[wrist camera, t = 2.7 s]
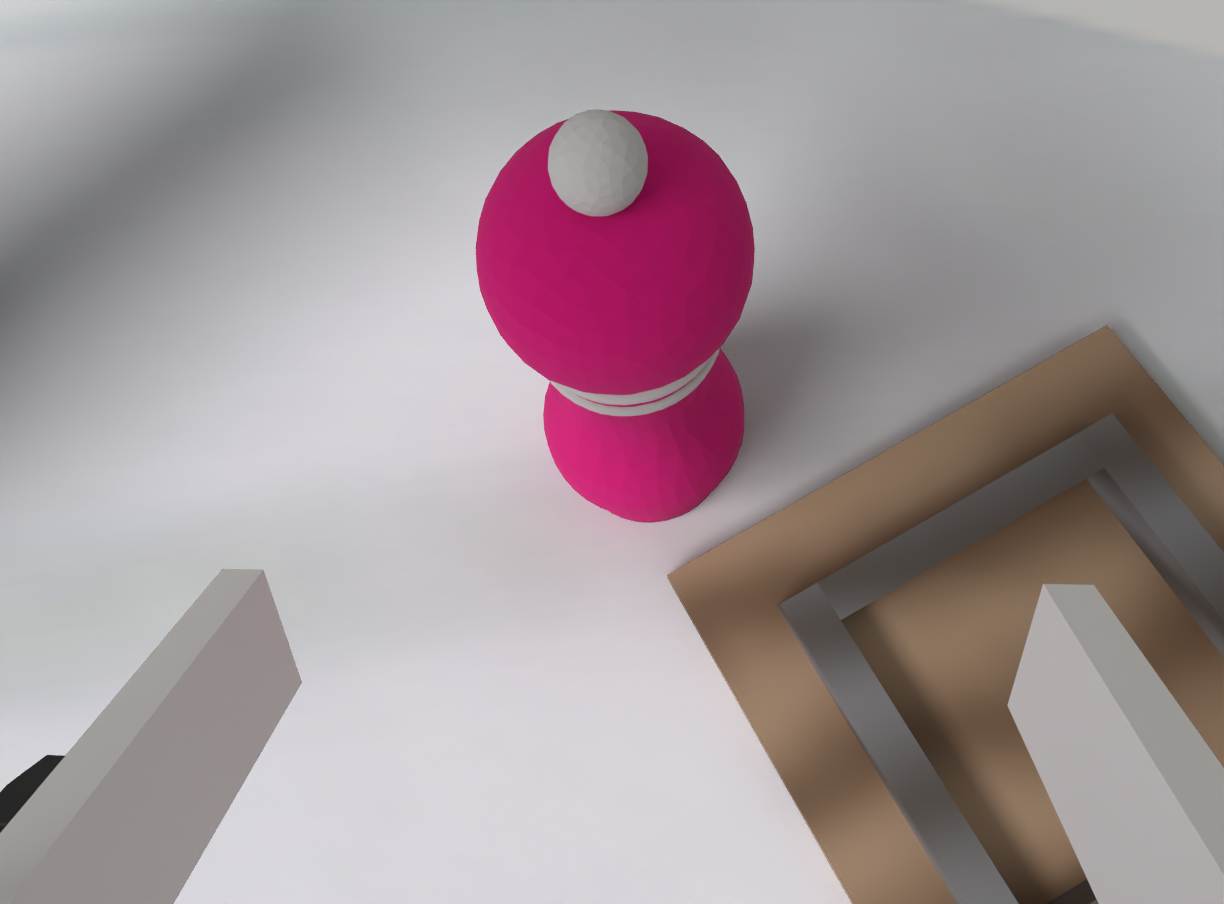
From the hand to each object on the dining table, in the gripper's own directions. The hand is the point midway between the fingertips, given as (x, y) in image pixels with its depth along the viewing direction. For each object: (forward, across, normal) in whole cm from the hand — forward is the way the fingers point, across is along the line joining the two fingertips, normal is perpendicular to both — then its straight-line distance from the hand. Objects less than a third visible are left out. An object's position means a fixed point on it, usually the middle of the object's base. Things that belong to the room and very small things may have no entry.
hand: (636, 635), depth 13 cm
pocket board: (+12, +14, -13) cm, 22 cm away
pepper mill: (+18, -1, -6) cm, 19 cm away
